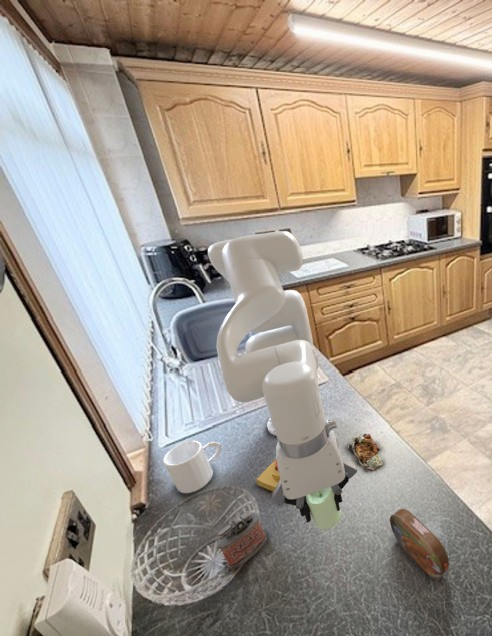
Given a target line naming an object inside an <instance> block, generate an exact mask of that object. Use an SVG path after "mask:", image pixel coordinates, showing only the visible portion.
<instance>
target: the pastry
mask: <svg viewBox="0 0 492 636" xmlns="http://www.w3.org/2000/svg"><path fill="white" fill-rule="evenodd" d="M351 442H352V443H351V444H348V446H347V449H348V450H349V453H351V452H353V455H354V456H355V457H356V458H357V459H358V463H359V464H360V465H361V466H363V467H364V469H367V470H373V471H374V470H375V469H376V468H378V467H379V466H383V464H384V463H383V461H382V458H381V456H380V455H379V450H381V447H379V446H378V444H377V443H376V442H375V441H374V439H373V438H372V436H371V434H370V433H364V434H362V433H361V434H360V435H359V436H356V437H352V441H351Z"/></svg>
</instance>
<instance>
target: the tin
mask: <svg viewBox="0 0 492 636" xmlns="http://www.w3.org/2000/svg"><path fill="white" fill-rule="evenodd" d="M389 525H390V528H391V530H392V533H393V535H394V537H395V539H396V541H397V543H399V545H400V546H401V547H402V549H404V550H405V552H406V553H408V555H409V556H410V557H411V558H412V559H413V560H414V561H415V562H416V563H417V564H418V565H419V566H420V568H421V569H422V570H423V571H424V572H425V573H426V574H427V575H428V576H429V577H430V578H432V579H434V580H440V579H441V578H442V577H443V575H444V574H445V573H447V571H448V570H449V567H450V566H449V565H450V560H449V556H448V553H447V550H446V549H445V547H444V545H443V543H442V542H441V541H440V540H439V538H438V537H437V536H436V535H435V534H434V533H433V532H432V531H431V530H430V529H429V528H428V527H427V526H426V525H425V524H424V523H423V522H422V521H420V520H419V519H418V518H417V517H416V516H415V515H414V514H413V513H412V512H411V511H409V510H408V509H406V508H400V509H398V510H397V511H396V512H395V513H393V514H391V515H390V517H389Z"/></svg>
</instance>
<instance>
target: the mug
mask: <svg viewBox="0 0 492 636" xmlns="http://www.w3.org/2000/svg"><path fill="white" fill-rule="evenodd" d="M211 447H215V448H216V450H215V453H214V454H213V455H212V456H211V457H210V458H209V459H208V456H207V454H206V452H205V450H207V449H208V448H211ZM221 451H222V444H221V443H220V442H217V441H210V442H208V443H206V444H205V445H203V444H202V443H201V442H200V441H199V440H187V441H184V442H180V443H178V444H176V445H175V446H174V447H172V448H171V449H170V450H169V451H168V452H167V453H166V454H165V456H164V457H163V459H162V461H163V464H164V466H165V468H166V470H167V472H168V474H169V476H170V478H171V480H172V482H173V484H174V486H175V488H176V490H177V491H178V492H180V493H182V494H191V493H194V492H197V491H198V490H200V489H202V488H204V487H205V486H207V484H208V483H209V482H210V481H211V480H212V478H213V475H214V470H213V468H212V465H211V463H212V462H214V461H216V459H217V458H218V457H219V456H220V453H221Z"/></svg>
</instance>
